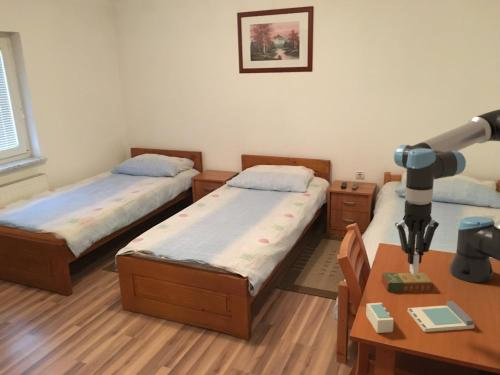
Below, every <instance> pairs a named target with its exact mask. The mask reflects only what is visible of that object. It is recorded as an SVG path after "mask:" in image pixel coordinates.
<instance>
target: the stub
mask: <svg viewBox="0 0 500 375" xmlns="http://www.w3.org/2000/svg"><path fill="white" fill-rule="evenodd" d="M365 308H366V310H365V311H366V312H365V316H366V318H367V319H368V321H369V322H370V324H371V326H372V327H373V329H374V330H375V332H376V333H377V334H384V333H385V334H386V333H393V332H394V318H393V316H392V315H391V314H390V312H389V311H388V309H387V308H386V307H385V306H384V304H383V302H374V303H373V302H372V303H366V307H365Z"/></svg>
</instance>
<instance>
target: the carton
mask: <svg viewBox="0 0 500 375" xmlns="http://www.w3.org/2000/svg"><path fill="white" fill-rule="evenodd" d="M380 280H381V283H382V284H383V287H384V288H385V290H386V291H387V292H389V293H392V292H394V293H395V292H396V293H397V292H401V293H402V292H432V285H433V283H432V282H433V281H432V280H431V279H430V277H429V276H428V275H427V274H426V273H425V271H418V275H413V274H412V273H411V272H410V271H409V272H408V271H407V272H405V271H404V272H382V274H381V279H380Z"/></svg>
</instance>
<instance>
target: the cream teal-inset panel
mask: <svg viewBox="0 0 500 375" xmlns="http://www.w3.org/2000/svg"><path fill="white" fill-rule="evenodd" d="M407 313H408V314H409V315H410V317H412V319H413V320H414V321H415V322H416V323H417V325H418V326H419V327H420V329H421V330H422V331H423V332H424V333H431V332H444V331H456V330H457V331H458V330H468V329H469V330H470V329H472V330H473V329H474V328H475V324H474V319H472V318H471V317H470V316H469V315H468V314H467V313H466V312H465V311H464V310H463V309H462V308H461V307H460V306H459V305H458V304H457V303H456V302H455V301H453V300H448V301H446V305H437V306H436V305H434V306H433V305H432V306H423V307H422V306H419V307H408V308H407Z"/></svg>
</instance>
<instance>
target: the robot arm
mask: <svg viewBox="0 0 500 375" xmlns="http://www.w3.org/2000/svg"><path fill="white" fill-rule="evenodd" d="M486 142H500V109H496V110H492V111H489V112H485V113H482V114H479V115H477V116H474V117H472V118H470V119H469V120H468V122H467V123H465V124H463V125H460V126H458V127H455V128H452V129H450V130H448V131H445V132H443V133H440V134H438V135H436V136H434V137H431V138H428V139H426V140H424V141H421V142H418V143H416V144H414V145H410V144H402V145H399V146H398V147H397V148H396V149H395V151H394V153H393V161H394V163H395V164H396V165H397V166H398V167H400V168H403V169H406V180H405V181H406V182H405V197H404V198H405V201H404V215H403V217H402V220H401V221H399V222H395V224H394V226H395V227H396V229H397V231H398V235H399V242H400V246H401V251H403V253H404V254H406V255H407V263H408V264H409V272H411V273H412V274H413V275H418V272H419V266H420V264H422V257H423V256H424V255H425V253H428V252H429V251H430V247H431V244H432V242H433V239H434V238H433V237H434V235H435V232H436V229H437V228H439V225H440V223H439V222H437V220H435V219H433V217H432V216H431V214H432V209H433V207H432V206H433V203H432V201H433V195H434V194H433V192H434V180H438V179H443V178H450V177H451V178H452V177H454V176H457V175H460V174H462V173H463V172H464V170H465V169H466V166H467V165H466V164H467V161H466V157H465V156H464V154H463V153H461V152H460V151H461V150H464V149H466V148H468V147H471V146H473V145H474V144H484V143H485V144H486ZM458 225H459V226H458V229H457V230H458V231H457V232H458V233H457V243H456V253H455V255H454V257H453V259H452V261H451V262H450V265H449V273H450V274H451V276H453V277H455V278H457V279H459V280H461V281H466V282H470V283H486V282H490V281H491V280H492V279H493V277H494V276H493V275H494V270H493V266H492V262H491V258H492V259H493V260H496V261H499V262H500V219H499V220H498V221H496V222H495V220H494V219H493V218H492V217H489V216H488V217H487V216H479V215H478V216H476V215H475V216H466V217H463V218H461V219H460V221H459V224H458ZM406 228H407V232H408V234H406V230H405V229H406ZM407 235H408V236H407Z"/></svg>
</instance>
